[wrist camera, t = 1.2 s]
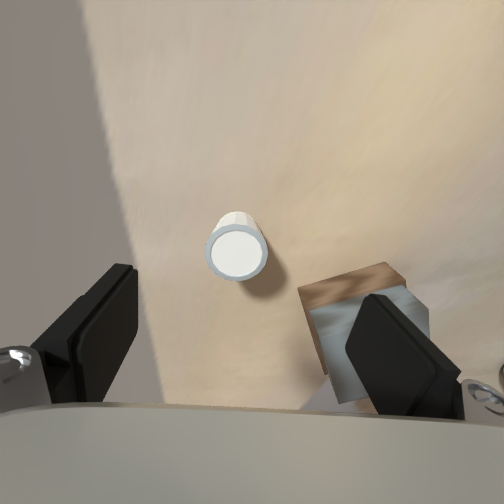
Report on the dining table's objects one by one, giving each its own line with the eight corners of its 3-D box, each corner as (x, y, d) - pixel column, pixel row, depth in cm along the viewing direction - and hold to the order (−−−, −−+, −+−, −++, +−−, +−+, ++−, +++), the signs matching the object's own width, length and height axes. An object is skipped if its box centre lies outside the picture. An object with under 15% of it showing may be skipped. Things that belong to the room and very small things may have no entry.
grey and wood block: (385, 261, 36) (432, 304, 27) (393, 328, 41) (435, 382, 32) (297, 287, 37) (314, 336, 28) (316, 349, 43) (335, 407, 34)
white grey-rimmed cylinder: (252, 261, 35) (254, 289, 29) (204, 246, 34) (196, 271, 28) (271, 217, 33) (278, 236, 26) (220, 198, 32) (215, 214, 25)
